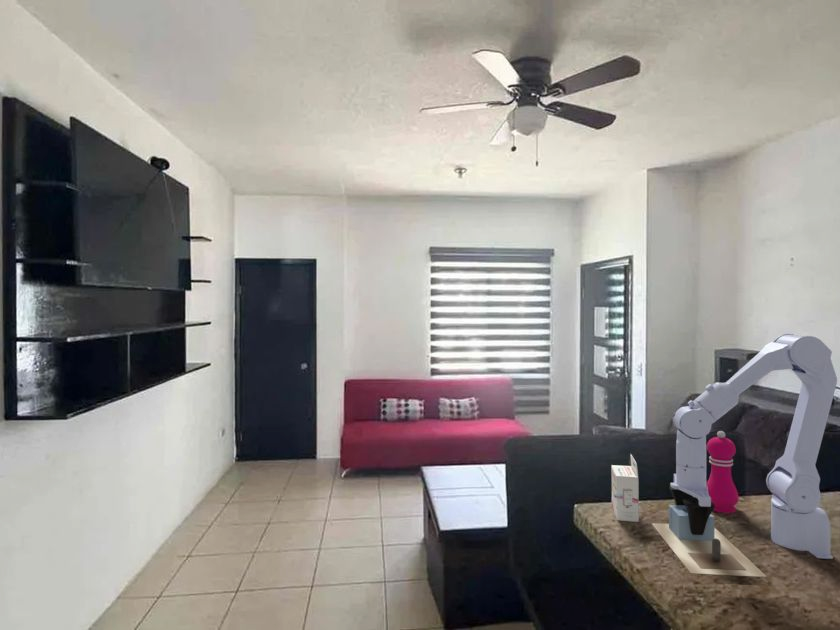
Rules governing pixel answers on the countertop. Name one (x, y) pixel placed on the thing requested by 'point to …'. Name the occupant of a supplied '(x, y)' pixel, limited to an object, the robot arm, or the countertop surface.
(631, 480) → the ink cartridge box
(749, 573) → the base plate
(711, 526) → the block
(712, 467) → the pepper mill
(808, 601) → the countertop surface
